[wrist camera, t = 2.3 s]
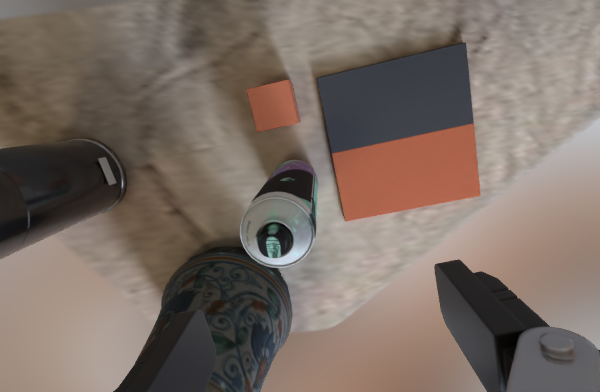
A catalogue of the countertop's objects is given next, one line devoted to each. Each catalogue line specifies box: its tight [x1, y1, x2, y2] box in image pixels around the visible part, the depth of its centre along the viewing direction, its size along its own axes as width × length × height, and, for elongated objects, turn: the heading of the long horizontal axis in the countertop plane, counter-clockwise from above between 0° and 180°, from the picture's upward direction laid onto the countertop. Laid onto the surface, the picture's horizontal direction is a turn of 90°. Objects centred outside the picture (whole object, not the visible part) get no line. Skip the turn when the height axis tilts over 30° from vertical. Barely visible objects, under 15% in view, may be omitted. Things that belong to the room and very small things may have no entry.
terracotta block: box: [247, 79, 300, 132], centre depth 36 cm, size 4×4×4 cm
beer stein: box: [113, 247, 292, 392], centre depth 33 cm, size 16×19×25 cm
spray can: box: [240, 160, 318, 268], centre depth 30 cm, size 6×6×20 cm
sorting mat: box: [317, 43, 480, 221], centre depth 38 cm, size 16×17×1 cm
